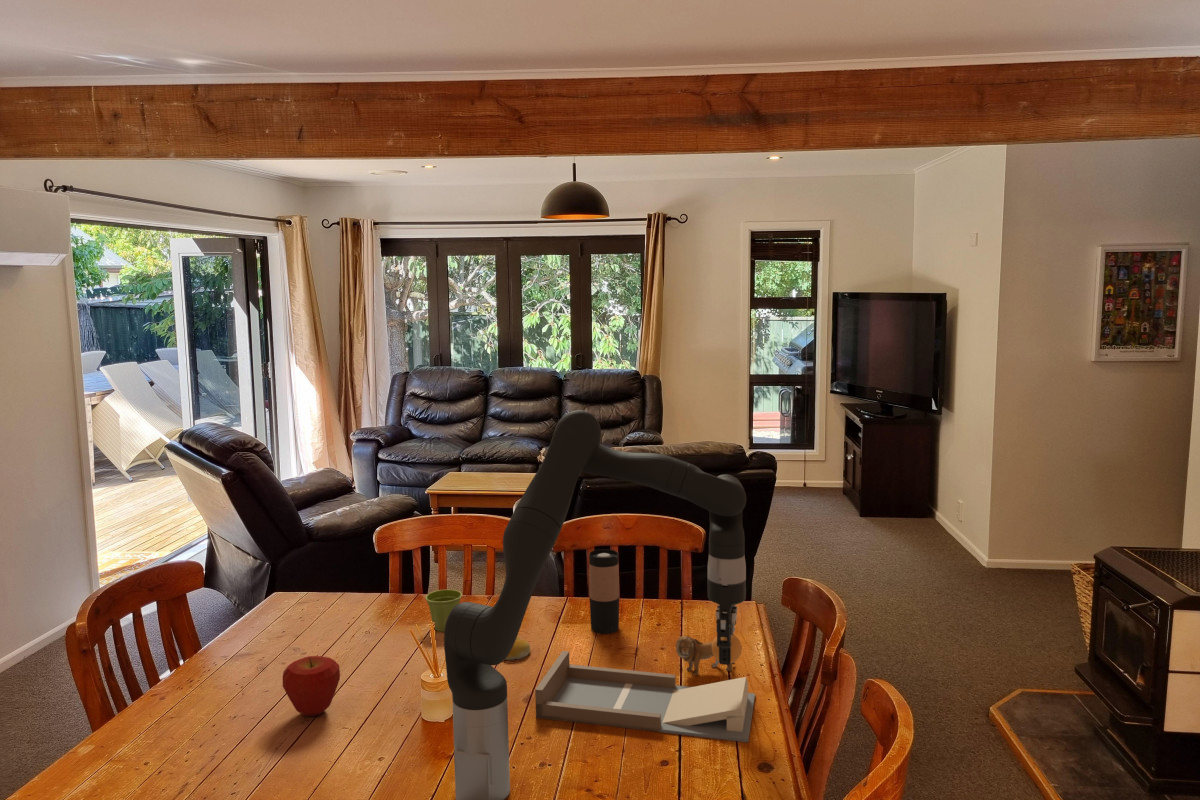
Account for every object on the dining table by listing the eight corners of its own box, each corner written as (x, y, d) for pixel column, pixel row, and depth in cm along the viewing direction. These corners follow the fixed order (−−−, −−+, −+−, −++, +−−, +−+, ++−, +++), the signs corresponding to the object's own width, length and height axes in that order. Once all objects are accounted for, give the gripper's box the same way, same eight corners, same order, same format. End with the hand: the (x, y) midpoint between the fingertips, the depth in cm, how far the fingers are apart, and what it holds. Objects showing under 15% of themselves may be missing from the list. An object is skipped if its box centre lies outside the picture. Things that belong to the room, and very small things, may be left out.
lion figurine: (681, 681, 182) (681, 642, 181) (671, 671, 187) (671, 633, 186) (740, 670, 187) (740, 632, 186) (728, 660, 192) (728, 623, 191)
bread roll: (509, 664, 192) (509, 648, 192) (488, 652, 199) (487, 637, 198) (538, 654, 198) (537, 638, 197) (516, 643, 204) (515, 627, 204)
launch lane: (754, 699, 175) (755, 669, 174) (748, 746, 156) (748, 712, 156) (563, 679, 185) (562, 650, 184) (536, 721, 167) (535, 689, 166)
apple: (282, 730, 163) (278, 672, 162) (287, 705, 174) (284, 650, 172) (340, 721, 166) (337, 664, 165) (342, 697, 177) (339, 643, 175)
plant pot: (419, 632, 211) (418, 600, 210) (437, 619, 220) (436, 587, 219) (452, 636, 209) (451, 603, 208) (469, 622, 218) (468, 590, 217)
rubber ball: (709, 667, 163) (709, 638, 163) (713, 654, 169) (713, 626, 168) (740, 670, 162) (740, 641, 161) (742, 657, 168) (743, 629, 167)
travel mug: (585, 626, 214) (584, 551, 211) (611, 621, 217) (610, 547, 215) (597, 636, 207) (596, 559, 205) (624, 631, 210) (623, 555, 208)
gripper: (711, 563, 171) (711, 640, 173) (703, 587, 157) (703, 670, 159) (748, 565, 169) (748, 643, 171) (742, 590, 155) (742, 674, 158)
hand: (726, 656), depth 165 cm, fingers closed on rubber ball, 6 cm apart
